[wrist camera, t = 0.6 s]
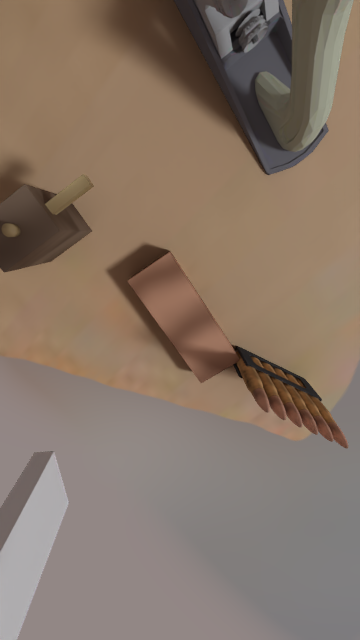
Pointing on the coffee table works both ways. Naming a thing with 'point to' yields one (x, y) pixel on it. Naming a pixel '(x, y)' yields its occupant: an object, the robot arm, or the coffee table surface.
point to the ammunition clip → (286, 395)
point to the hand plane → (273, 68)
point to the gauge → (40, 224)
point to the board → (184, 317)
